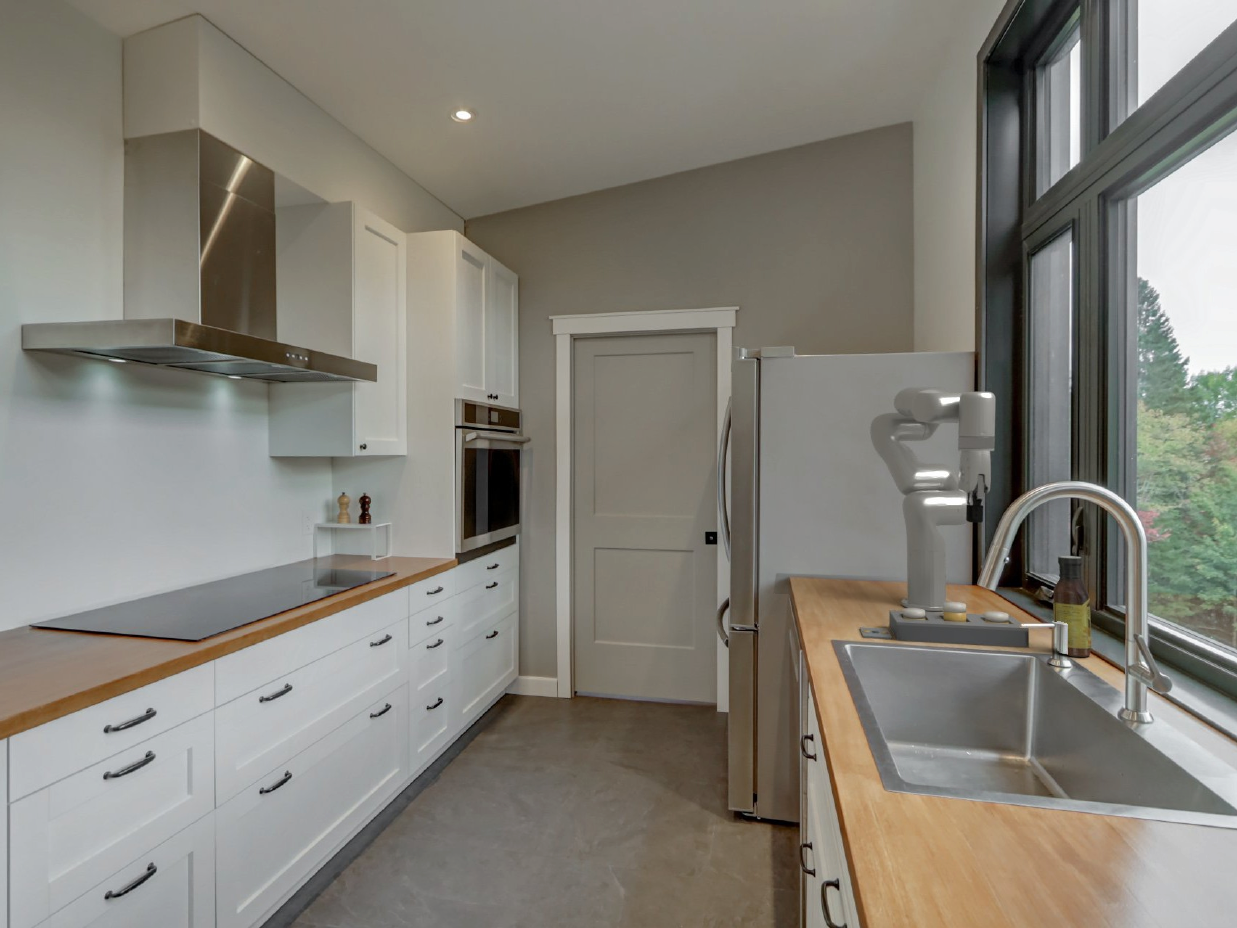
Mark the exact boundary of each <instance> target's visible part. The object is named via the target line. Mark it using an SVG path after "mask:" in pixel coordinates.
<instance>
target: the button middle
mask: <svg viewBox="0 0 1237 928" xmlns="http://www.w3.org/2000/svg"><path fill="white" fill-rule="evenodd" d="M942 613H943V620H944V621H956V622H966V614H967V604H966V603H964V602H959V601H948V602H943V611H942Z"/></svg>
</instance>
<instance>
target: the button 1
mask: <svg viewBox="0 0 1237 928" xmlns="http://www.w3.org/2000/svg"><path fill="white" fill-rule="evenodd" d="M902 611H903V619H912V620H925V612H926V610H923V609H919V608H908V607H905V608H903V609H902Z"/></svg>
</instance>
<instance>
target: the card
mask: <svg viewBox="0 0 1237 928" xmlns="http://www.w3.org/2000/svg"><path fill="white" fill-rule="evenodd" d="M859 631H860V632H861V635H862V638H863V639H880V640H881V639H882V640H892V639H893V638H892V635H891V634H890V631H889V630H888V628H882V627H881V628H880V627H879V628H878V627H864V626H863V627H859Z"/></svg>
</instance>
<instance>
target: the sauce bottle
mask: <svg viewBox="0 0 1237 928" xmlns="http://www.w3.org/2000/svg"><path fill="white" fill-rule="evenodd" d="M1057 563H1058V565H1059V566H1058V567H1059V569H1058V570H1059V574H1058V576H1059V577H1058V578H1059V579H1058V581H1057V582H1056V584H1055V585H1054V587H1053V603H1052V605H1053V608H1052V609H1053V623H1054V622H1057V621H1061V622H1064V623H1067V624H1068V655H1069V656H1068V657H1077V658H1079V657H1080V658H1081V657H1082V658H1085V657H1089V656H1090V655H1091V648H1092V625H1091V624H1092V623H1091V599H1090V595H1089V591H1088V590H1087V586H1086V584H1085V582H1084V580H1083V576H1082V564H1083V560H1082V557H1081V556H1075V555H1061V556H1058V557H1057Z"/></svg>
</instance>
